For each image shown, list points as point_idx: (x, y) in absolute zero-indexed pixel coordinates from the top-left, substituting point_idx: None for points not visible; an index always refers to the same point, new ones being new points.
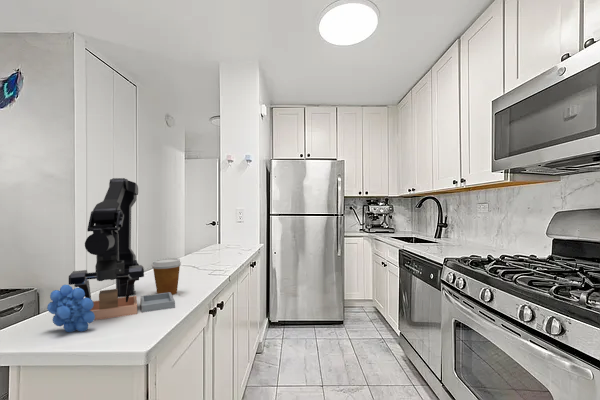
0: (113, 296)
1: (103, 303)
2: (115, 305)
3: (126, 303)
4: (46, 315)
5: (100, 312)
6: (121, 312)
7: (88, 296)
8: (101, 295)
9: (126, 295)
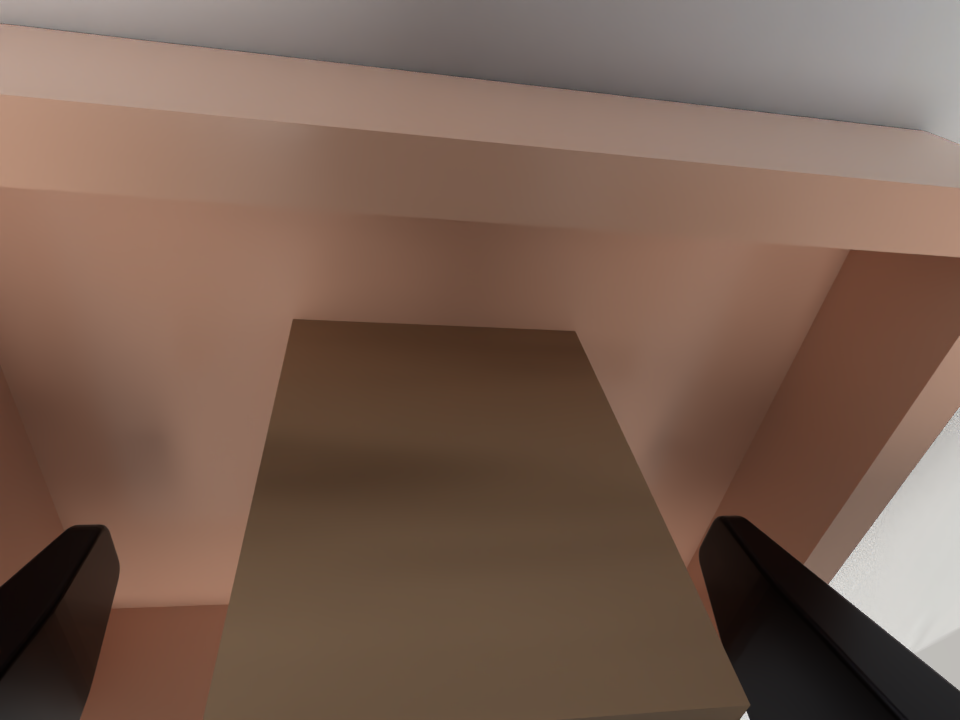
0: (335, 605)
1: (559, 475)
2: (311, 417)
3: (191, 632)
4: (927, 623)
5: (640, 145)
6: (158, 77)
7: (898, 693)
8: (666, 660)
9: (4, 657)
